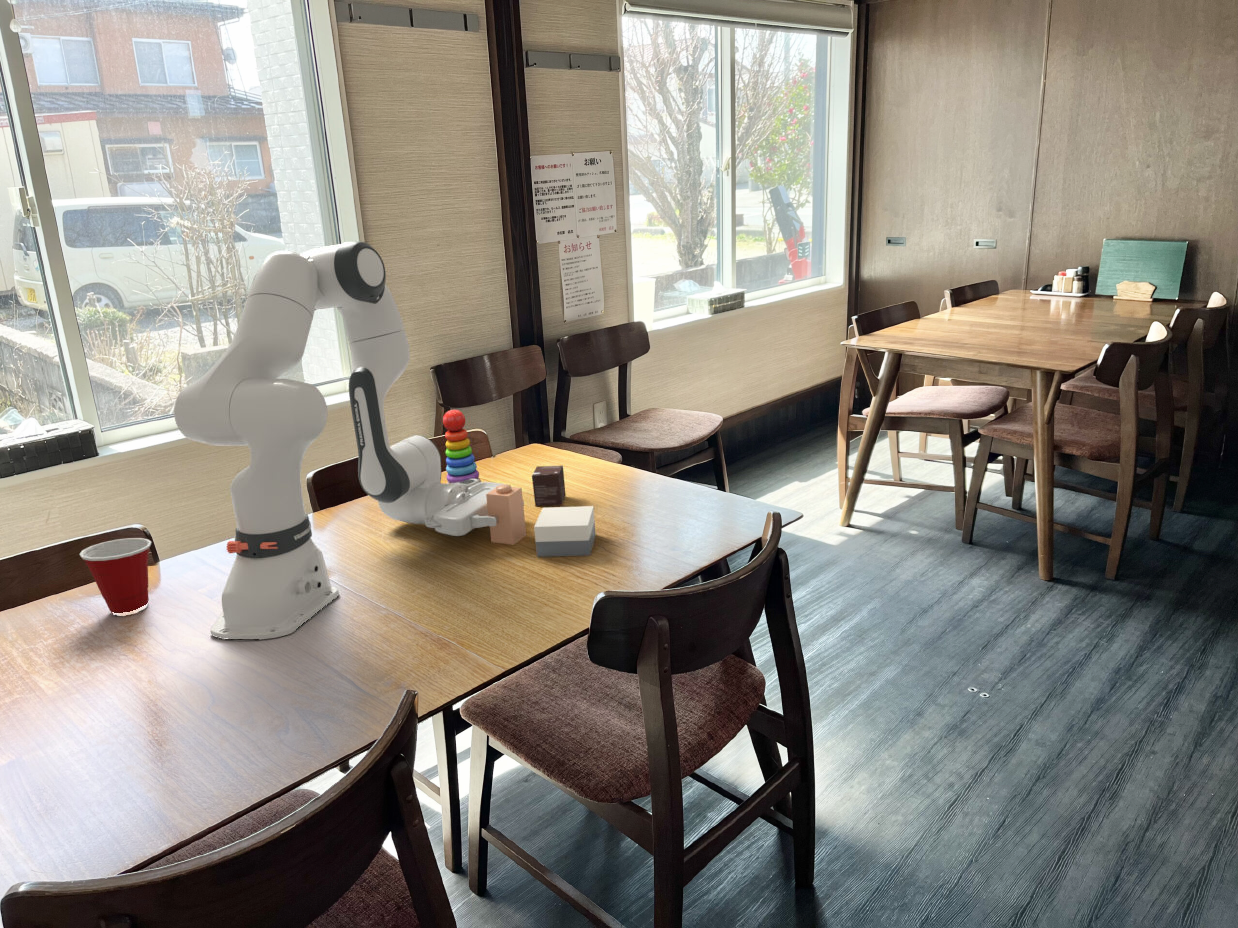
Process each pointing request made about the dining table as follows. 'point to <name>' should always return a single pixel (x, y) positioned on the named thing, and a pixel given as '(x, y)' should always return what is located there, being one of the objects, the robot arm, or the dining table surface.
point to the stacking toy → (458, 449)
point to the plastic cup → (120, 572)
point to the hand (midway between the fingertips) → (509, 512)
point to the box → (548, 485)
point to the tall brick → (507, 514)
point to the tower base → (566, 547)
